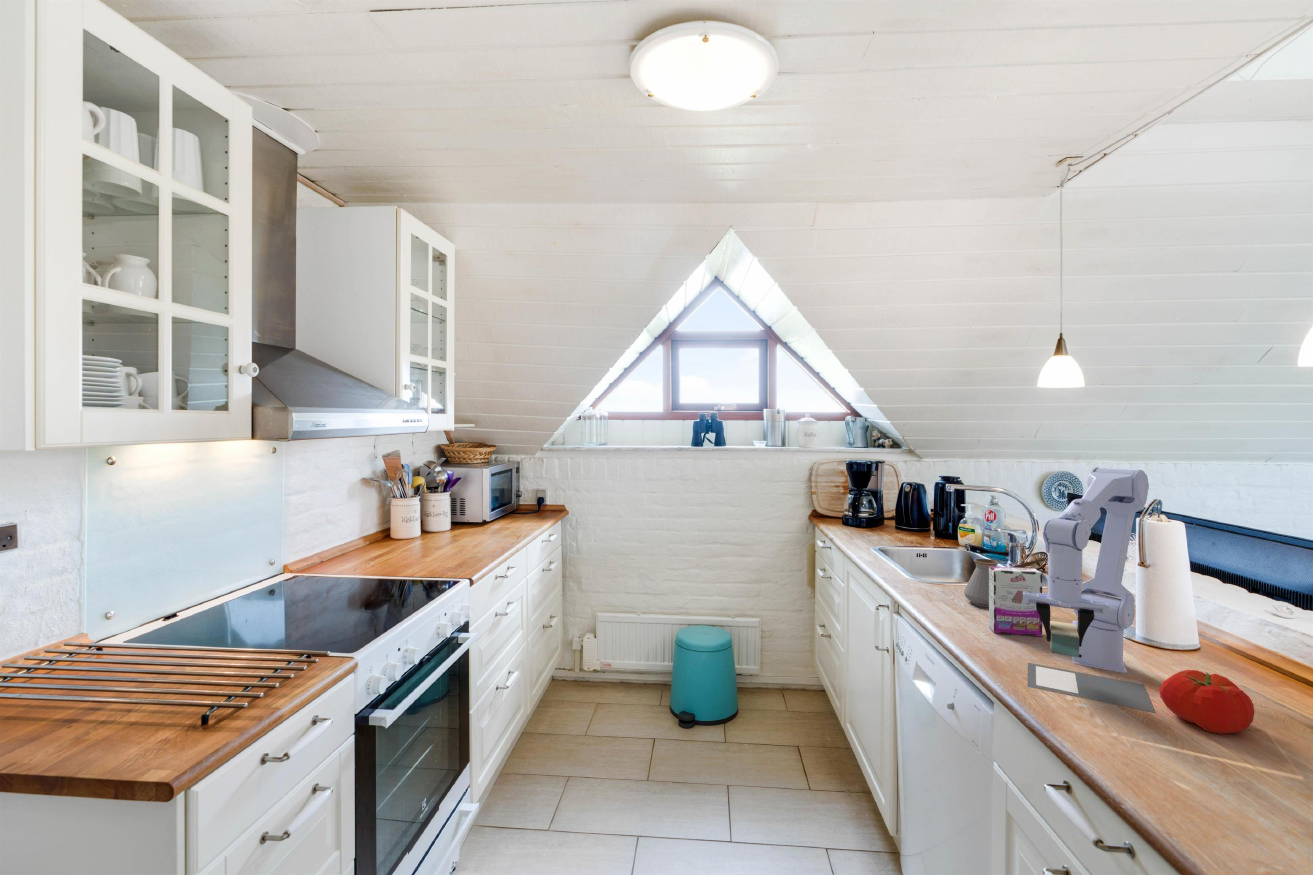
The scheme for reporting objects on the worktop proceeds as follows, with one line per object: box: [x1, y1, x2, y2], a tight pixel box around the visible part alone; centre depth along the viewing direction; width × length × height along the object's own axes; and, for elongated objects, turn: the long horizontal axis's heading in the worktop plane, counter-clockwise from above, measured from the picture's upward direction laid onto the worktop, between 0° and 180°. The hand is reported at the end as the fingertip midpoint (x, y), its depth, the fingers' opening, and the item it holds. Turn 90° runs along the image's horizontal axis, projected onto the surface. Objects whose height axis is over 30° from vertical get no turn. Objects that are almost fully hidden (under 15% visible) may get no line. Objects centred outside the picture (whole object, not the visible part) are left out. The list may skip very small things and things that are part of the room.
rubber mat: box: [1026, 662, 1156, 714], centre depth 119 cm, size 20×14×1 cm
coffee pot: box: [963, 557, 1048, 608], centre depth 172 cm, size 21×12×15 cm, turn 68°
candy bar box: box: [988, 566, 1043, 637], centre depth 150 cm, size 11×5×16 cm, turn 76°
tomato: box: [1158, 669, 1256, 735], centre depth 104 cm, size 13×12×8 cm
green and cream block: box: [1049, 620, 1079, 658], centre depth 121 cm, size 9×5×4 cm, turn 148°
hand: (1063, 642), depth 121 cm, fingers closed on green and cream block, 4 cm apart
